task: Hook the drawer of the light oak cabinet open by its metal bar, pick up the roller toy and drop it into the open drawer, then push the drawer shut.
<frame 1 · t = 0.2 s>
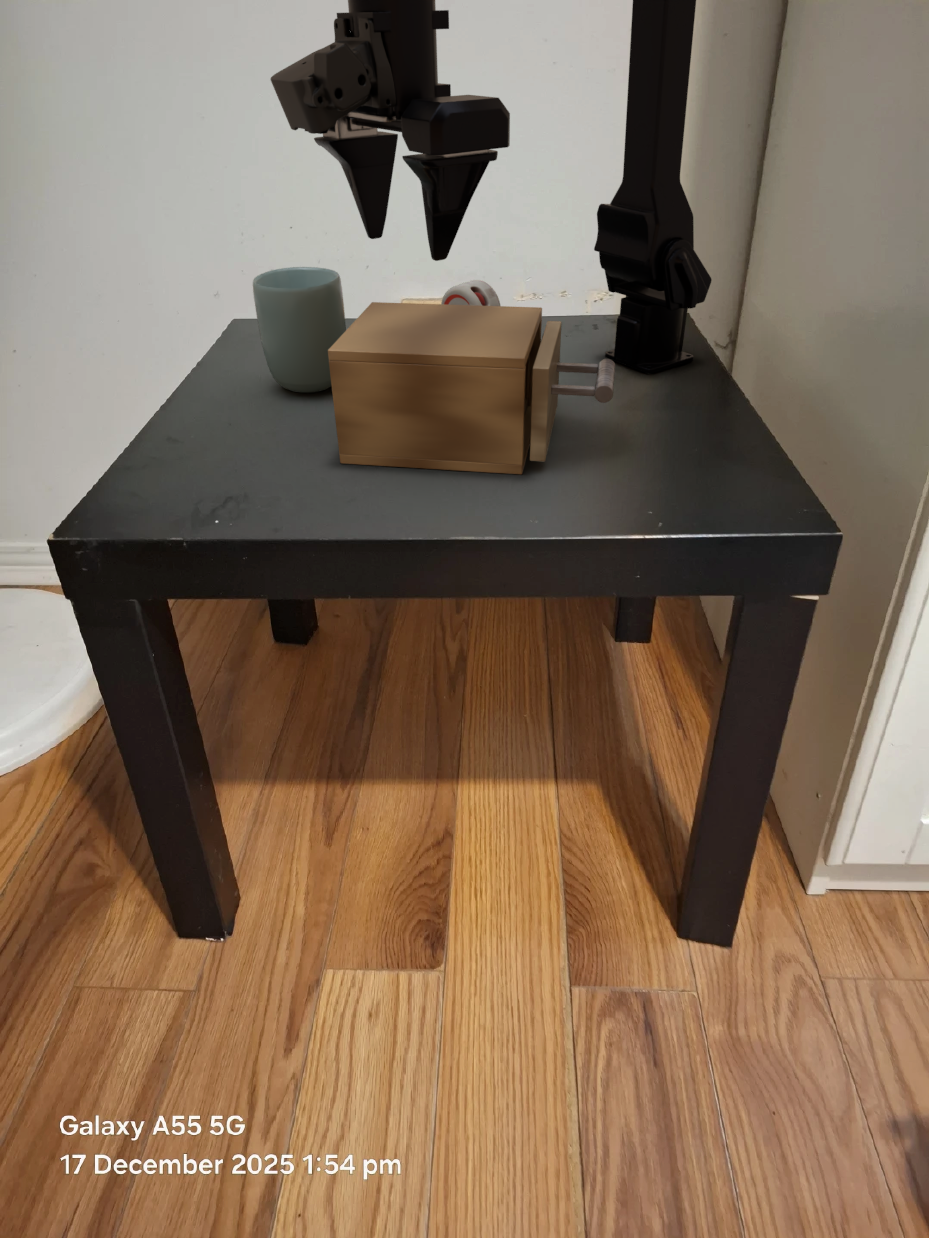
hand: (405, 248, 64), 15 cm above the table, tool pointing down, fingers open, 9 cm apart
cup: (310, 387, 81), on the table
roller toy: (471, 339, 92), on the table
cabinet: (444, 436, 71), on the table
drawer: (499, 386, 68), point 5 cm above the table, slide at 0.5 cm
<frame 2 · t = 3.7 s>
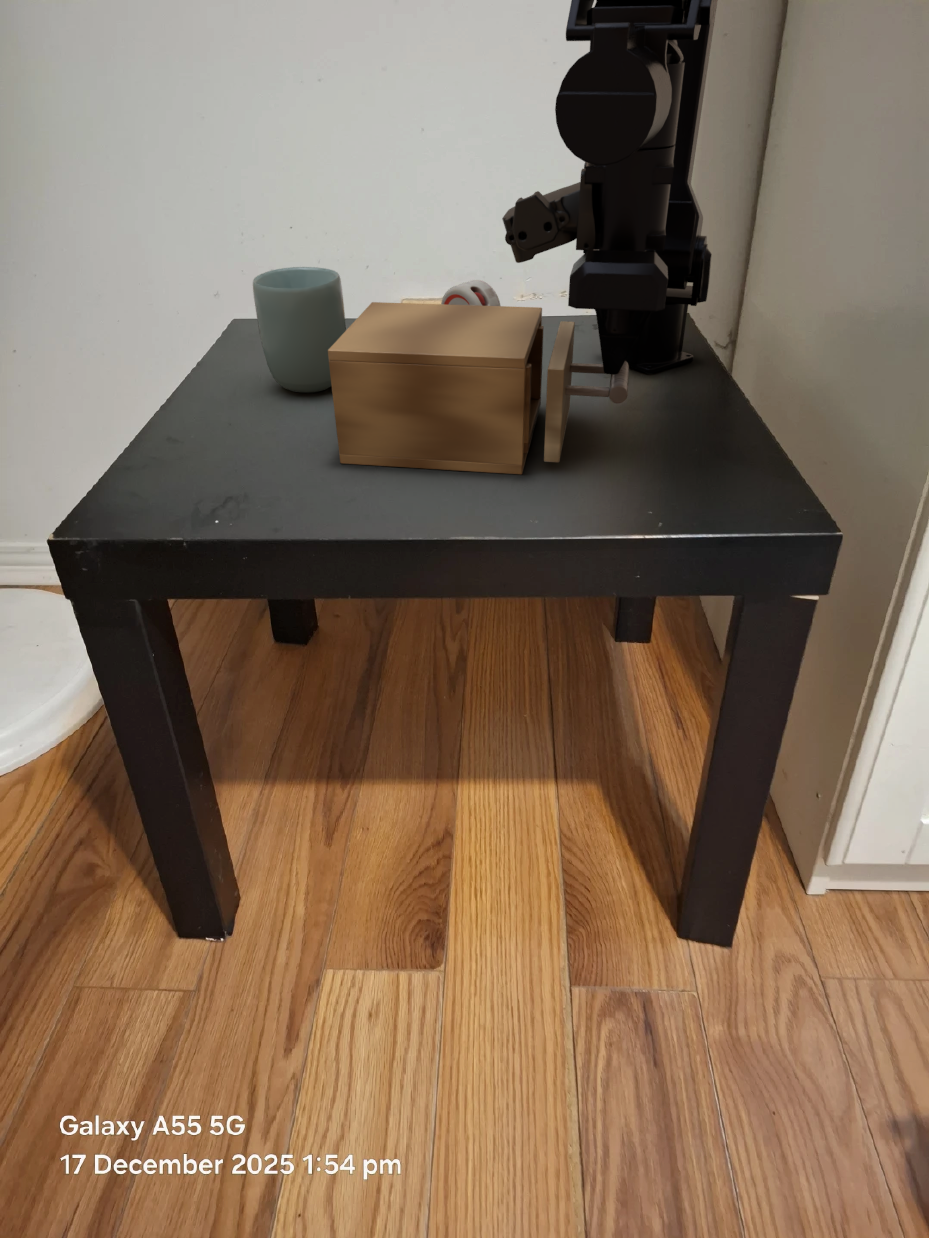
hand: (611, 373, 66), 6 cm above the table, tool pointing down, fingers closed, pressing on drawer
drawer: (512, 387, 68), point 5 cm above the table, slide at 1.6 cm, touching gripper
everything else where it was.
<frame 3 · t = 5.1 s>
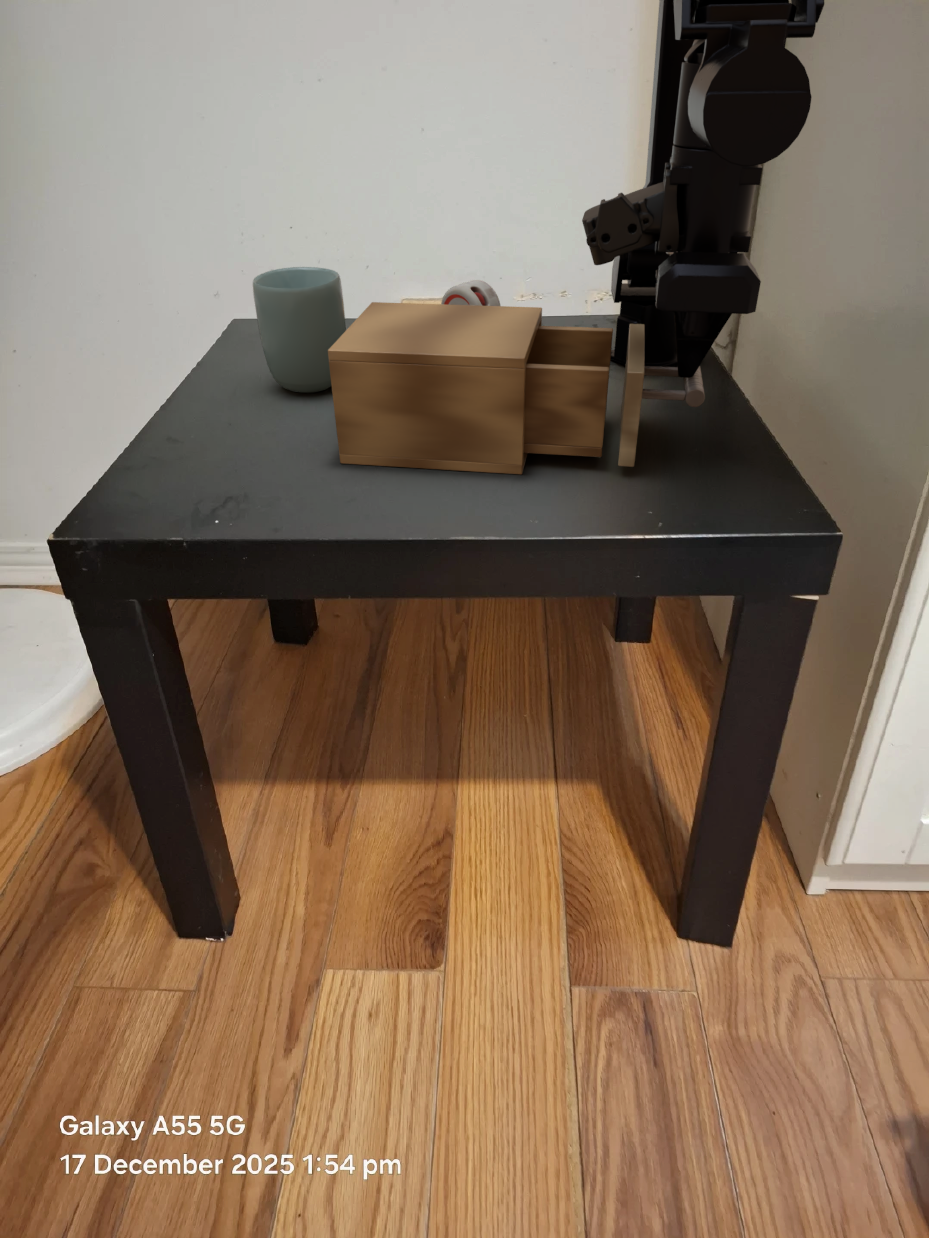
hand: (685, 376, 65), 6 cm above the table, tool pointing down, fingers closed, pressing on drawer
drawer: (583, 390, 67), point 5 cm above the table, slide at 7.2 cm, touching gripper
everything else where it was.
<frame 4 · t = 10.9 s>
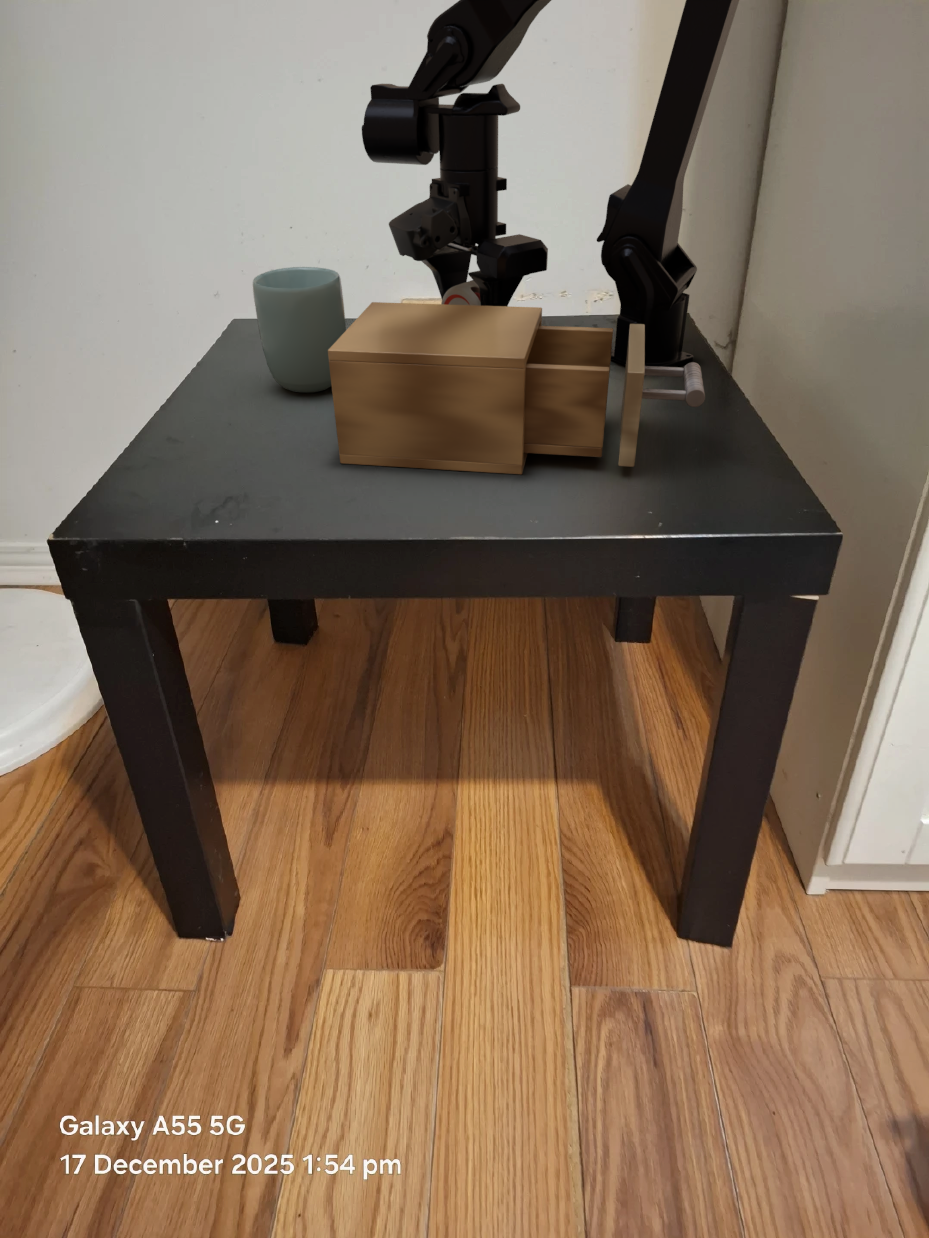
hand: (470, 328, 92), 1 cm above the table, tool pointing down, fingers closed on roller toy, 6 cm apart
roller toy: (471, 339, 92), on the table, touching gripper
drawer: (583, 390, 67), point 5 cm above the table, slide at 7.3 cm
everything else where it was.
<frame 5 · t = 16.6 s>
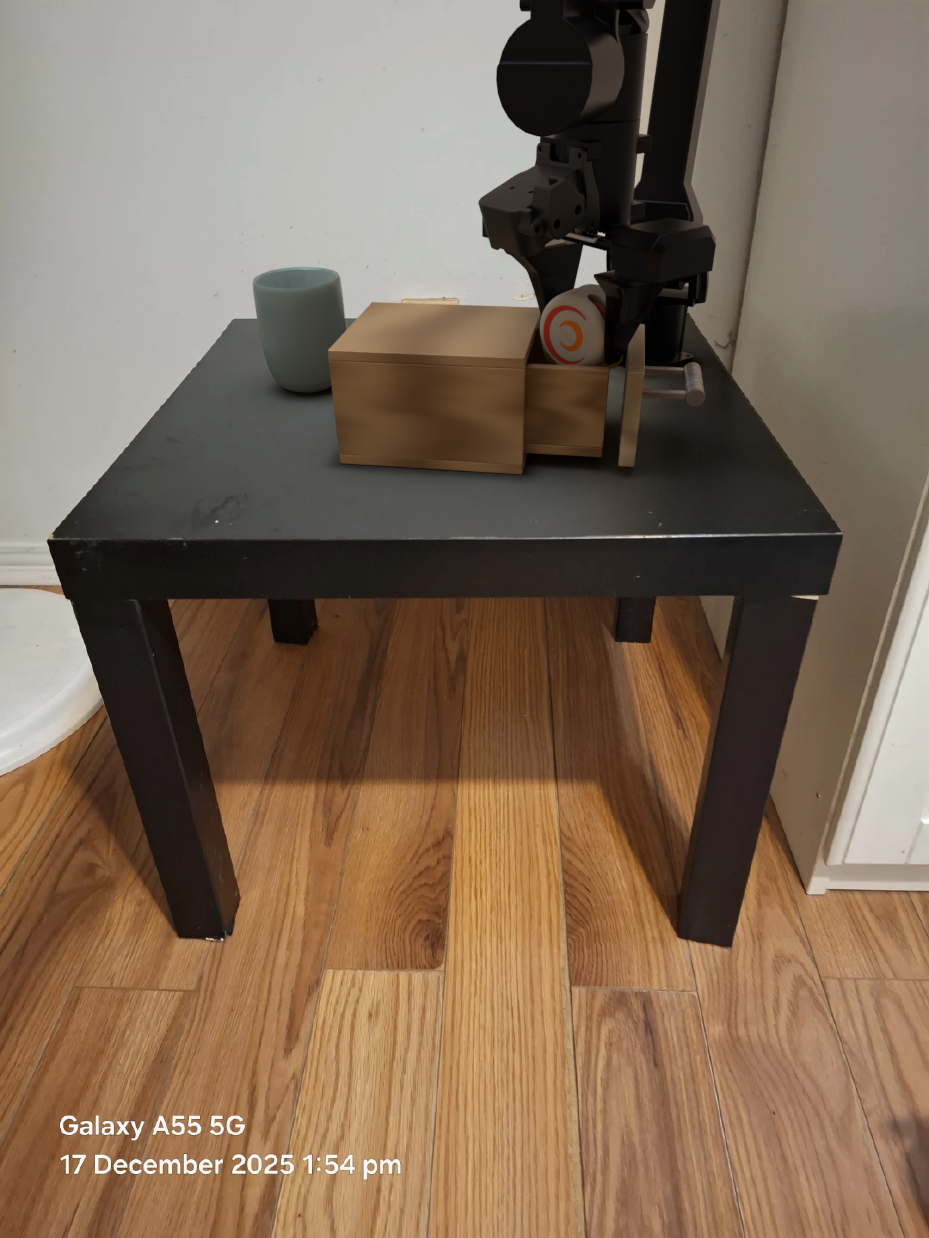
hand: (582, 352, 65), 8 cm above the table, tool pointing down, fingers closed on roller toy, 6 cm apart
roller toy: (580, 368, 66), point 6 cm above the table, touching gripper
everything else where it was.
when the fingers open (10 cm above the table, at t = 31.2 s): roller toy drops 7 cm, resting on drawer.
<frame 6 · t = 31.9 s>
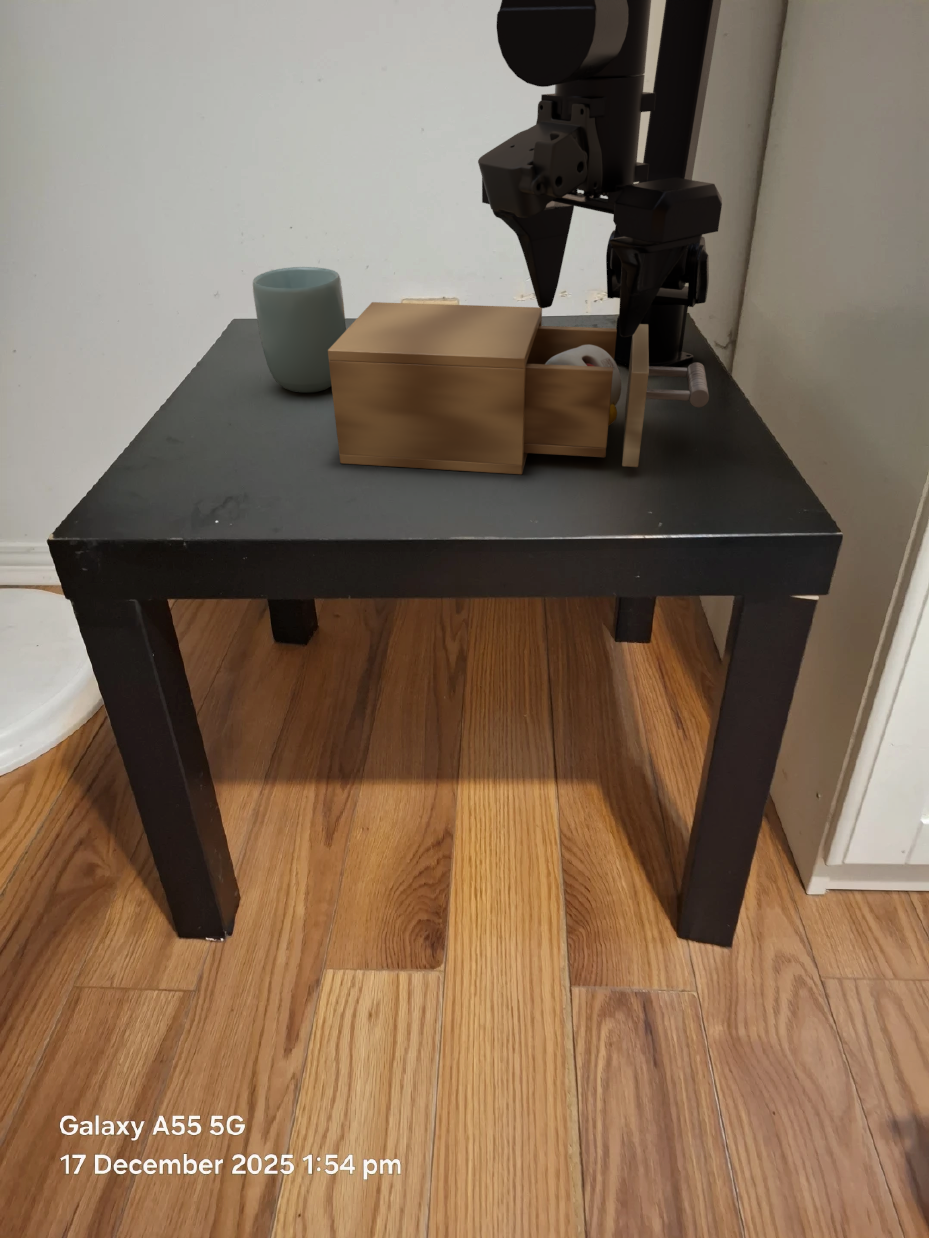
hand: (584, 320, 64), 10 cm above the table, tool pointing down, fingers open, 9 cm apart
roller toy: (577, 423, 68), point 2 cm above the table, touching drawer
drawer: (587, 390, 67), point 5 cm above the table, slide at 7.5 cm, touching roller toy
everything else where it was.
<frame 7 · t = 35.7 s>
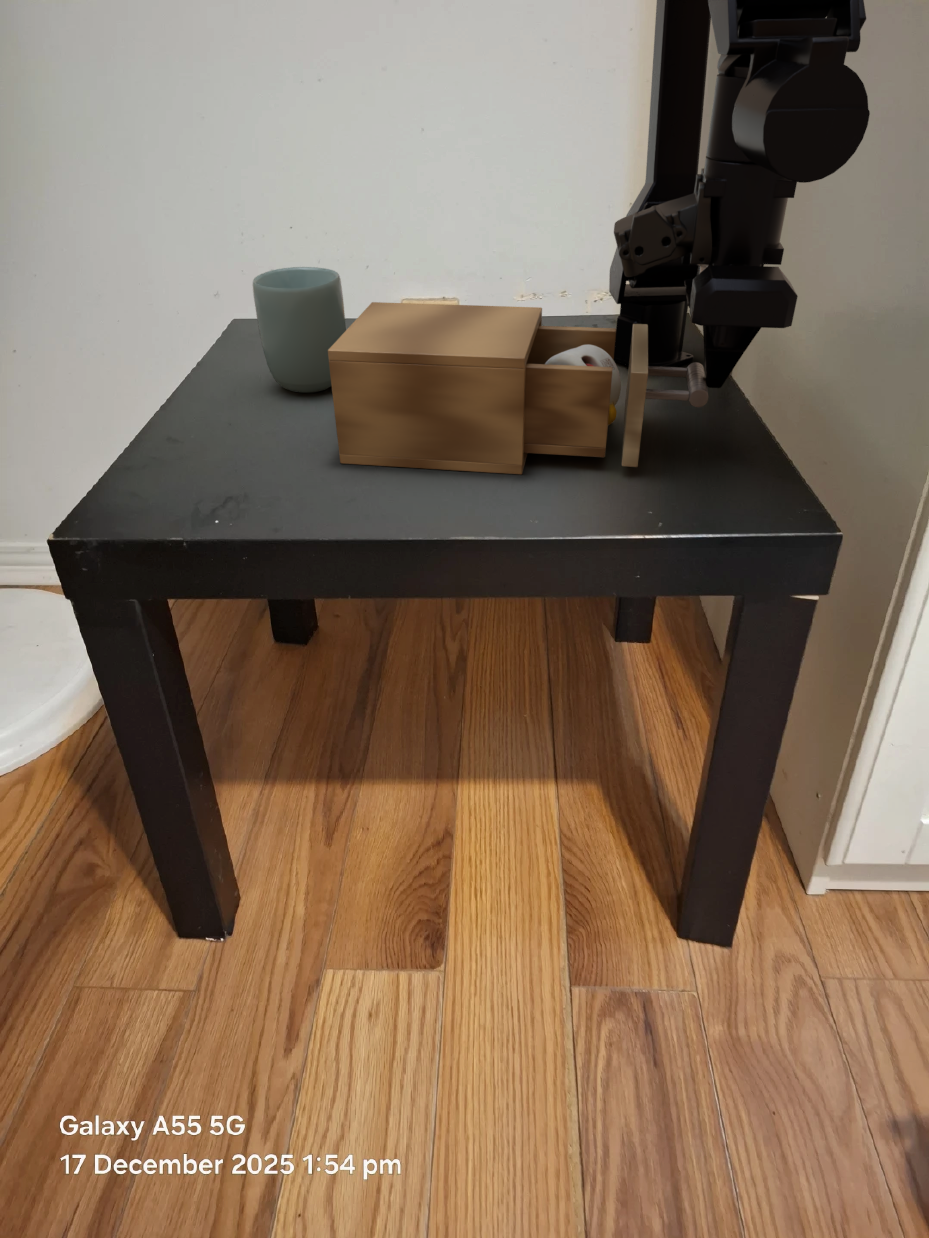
hand: (713, 386, 65), 5 cm above the table, tool pointing down, fingers closed, pressing on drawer
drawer: (586, 390, 67), point 5 cm above the table, slide at 7.5 cm, touching gripper, roller toy
everything else where it was.
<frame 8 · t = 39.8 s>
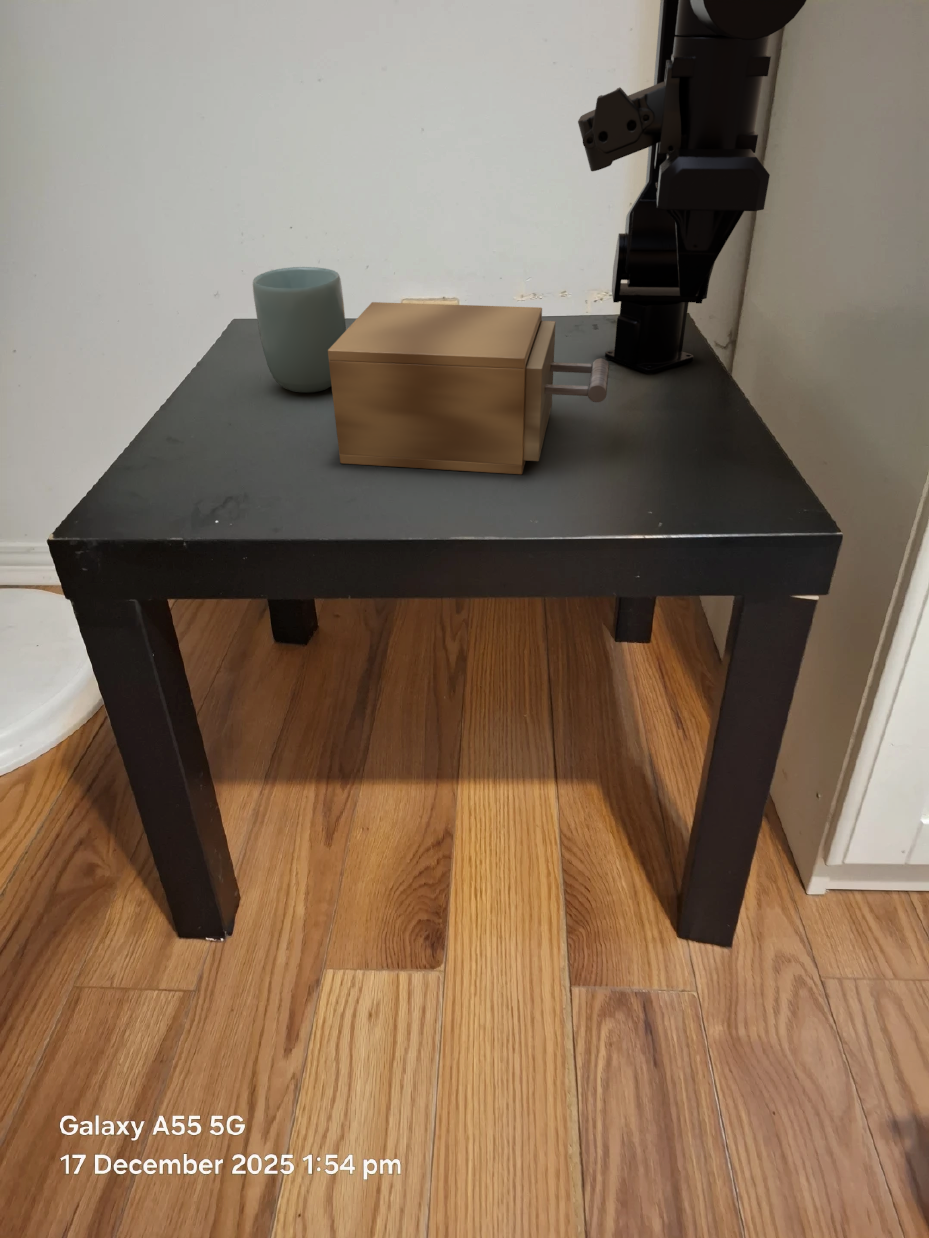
hand: (687, 296, 61), 12 cm above the table, tool pointing down, fingers closed
roller toy: (485, 418, 69), point 2 cm above the table, touching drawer
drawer: (492, 386, 68), point 5 cm above the table, slide at 0.0 cm, touching cabinet, roller toy
everything else where it was.
at the end: roller toy inside the target area in the cabinet (3.5 cm from its centre), point 1.8 cm above the cabinet's base; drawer slide at 0.0 cm; the gripper is holding nothing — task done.
